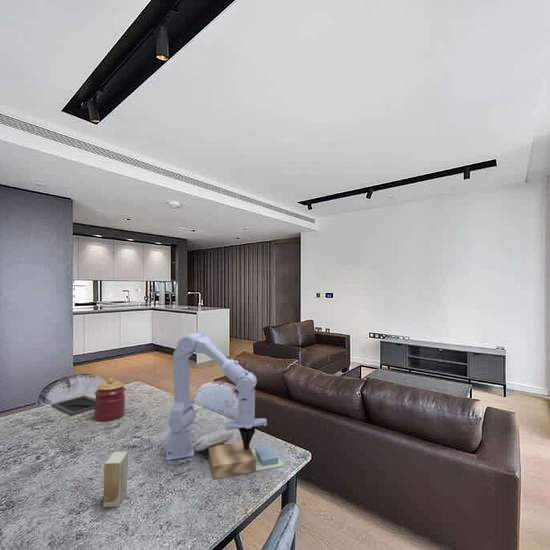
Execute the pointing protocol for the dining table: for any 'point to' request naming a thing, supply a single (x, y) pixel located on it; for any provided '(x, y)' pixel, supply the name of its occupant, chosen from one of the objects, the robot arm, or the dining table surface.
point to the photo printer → (213, 439)
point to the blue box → (266, 455)
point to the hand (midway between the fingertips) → (246, 448)
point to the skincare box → (115, 479)
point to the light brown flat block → (231, 460)
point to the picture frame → (75, 405)
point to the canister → (109, 400)
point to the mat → (260, 468)
